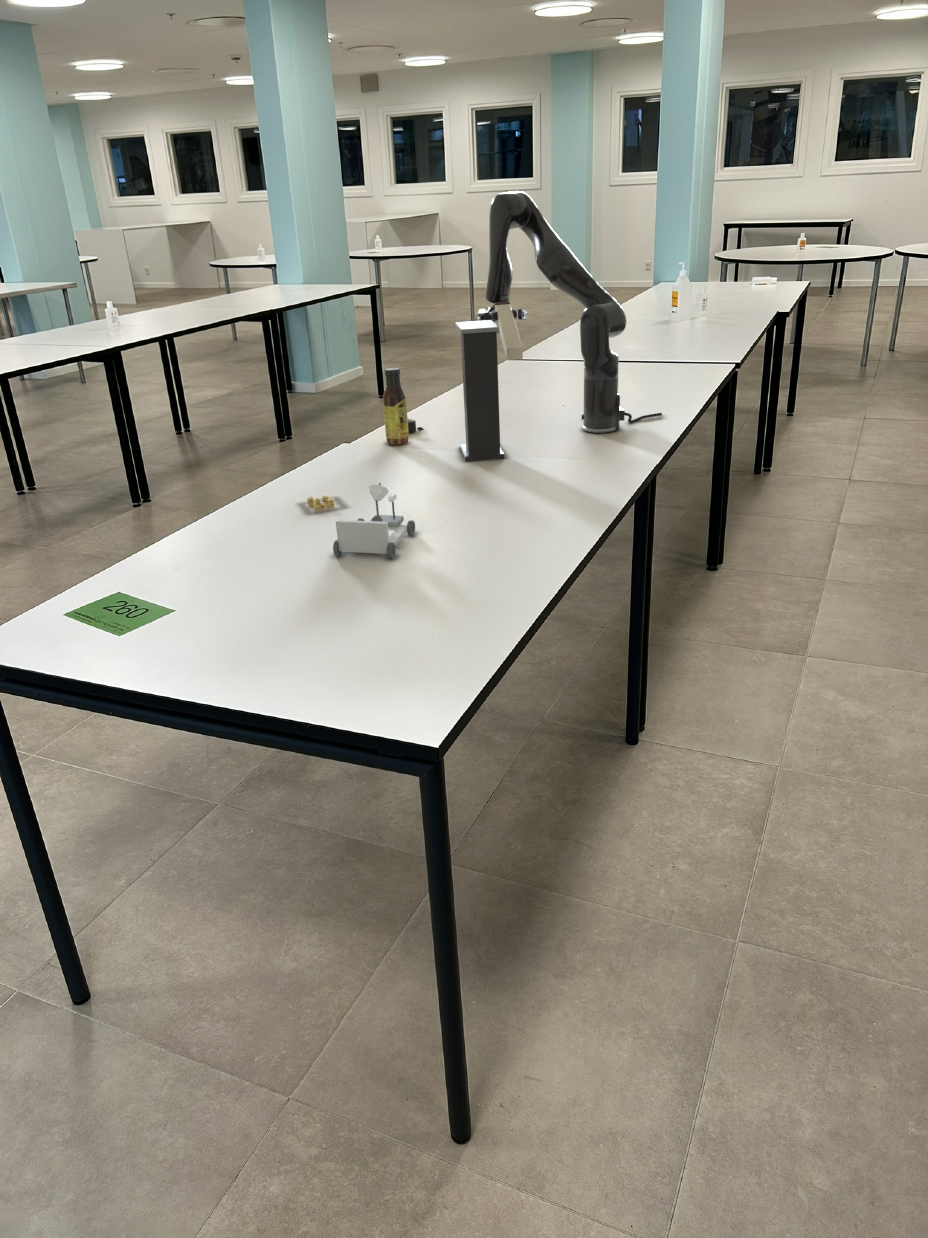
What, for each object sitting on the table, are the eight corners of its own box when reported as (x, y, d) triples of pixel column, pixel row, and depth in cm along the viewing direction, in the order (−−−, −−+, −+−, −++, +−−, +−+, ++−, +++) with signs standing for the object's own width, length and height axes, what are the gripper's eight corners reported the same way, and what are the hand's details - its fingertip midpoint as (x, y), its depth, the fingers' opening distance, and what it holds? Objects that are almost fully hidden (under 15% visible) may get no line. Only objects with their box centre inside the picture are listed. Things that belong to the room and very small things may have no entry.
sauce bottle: (405, 446, 242) (400, 371, 234) (383, 445, 244) (377, 371, 235) (412, 439, 248) (406, 366, 240) (390, 439, 249) (384, 366, 241)
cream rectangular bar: (509, 312, 240) (509, 300, 238) (523, 358, 224) (523, 346, 221) (494, 314, 240) (494, 302, 238) (506, 360, 223) (506, 348, 221)
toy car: (361, 479, 182) (416, 481, 179) (366, 525, 186) (419, 527, 184) (327, 508, 167) (386, 510, 164) (333, 557, 171) (391, 560, 168)
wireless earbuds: (410, 434, 254) (410, 423, 252) (396, 430, 259) (395, 419, 257) (424, 431, 256) (423, 420, 255) (409, 427, 261) (408, 416, 260)
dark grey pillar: (497, 445, 238) (493, 319, 225) (504, 458, 227) (500, 326, 213) (459, 448, 238) (453, 322, 224) (465, 461, 226) (458, 329, 212)
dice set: (307, 505, 201) (306, 497, 200) (329, 501, 203) (328, 493, 202) (313, 511, 197) (312, 503, 196) (335, 507, 198) (334, 499, 197)
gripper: (472, 306, 249) (477, 302, 232) (523, 301, 249) (531, 297, 233) (474, 334, 251) (479, 332, 234) (525, 329, 251) (533, 327, 235)
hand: (505, 314), depth 234 cm, fingers closed on cream rectangular bar, 4 cm apart
